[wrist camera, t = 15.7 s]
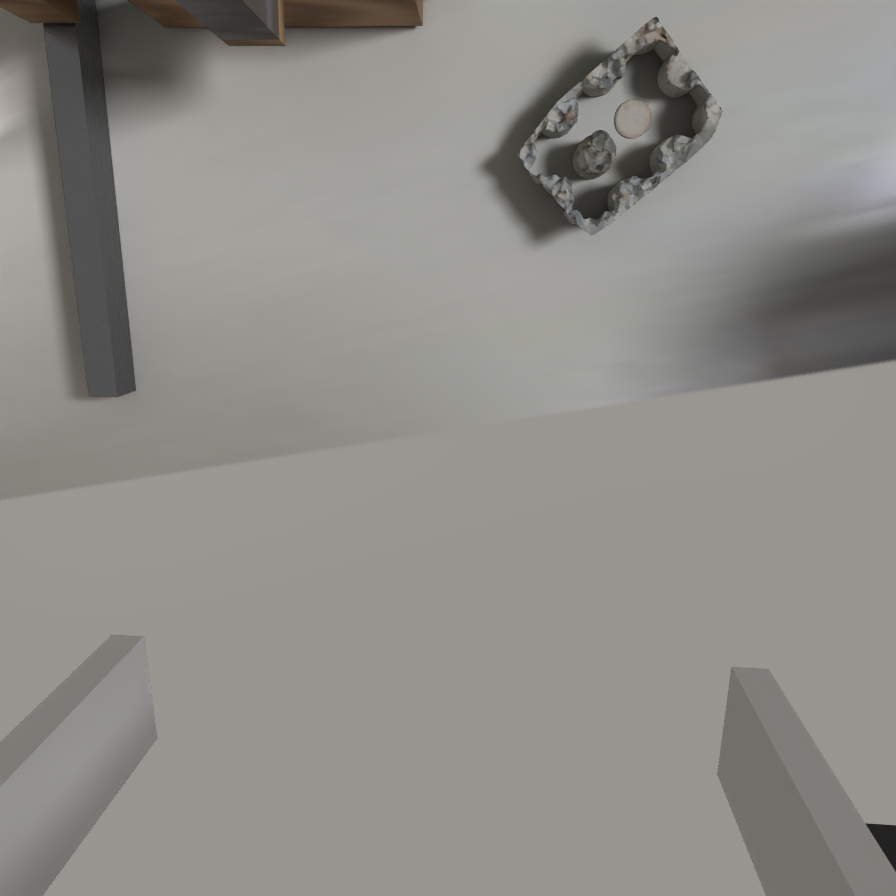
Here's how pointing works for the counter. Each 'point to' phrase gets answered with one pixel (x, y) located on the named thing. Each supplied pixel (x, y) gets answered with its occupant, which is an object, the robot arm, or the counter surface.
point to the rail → (90, 201)
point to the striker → (242, 15)
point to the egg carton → (625, 127)
